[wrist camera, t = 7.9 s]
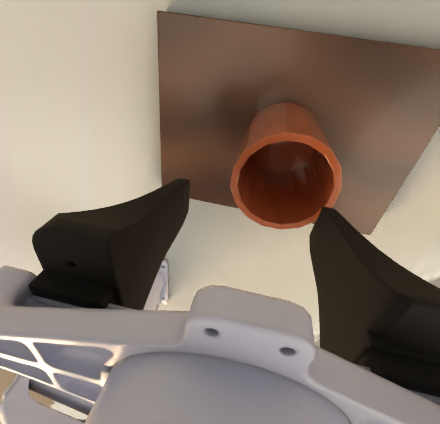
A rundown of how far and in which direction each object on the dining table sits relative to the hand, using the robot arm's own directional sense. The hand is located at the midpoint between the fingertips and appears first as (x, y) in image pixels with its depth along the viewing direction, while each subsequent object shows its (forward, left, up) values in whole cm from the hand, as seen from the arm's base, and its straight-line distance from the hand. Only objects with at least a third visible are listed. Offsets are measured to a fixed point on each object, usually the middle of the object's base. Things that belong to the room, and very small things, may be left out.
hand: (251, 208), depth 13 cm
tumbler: (+1, -1, -8) cm, 8 cm away
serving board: (+1, -2, -10) cm, 10 cm away
